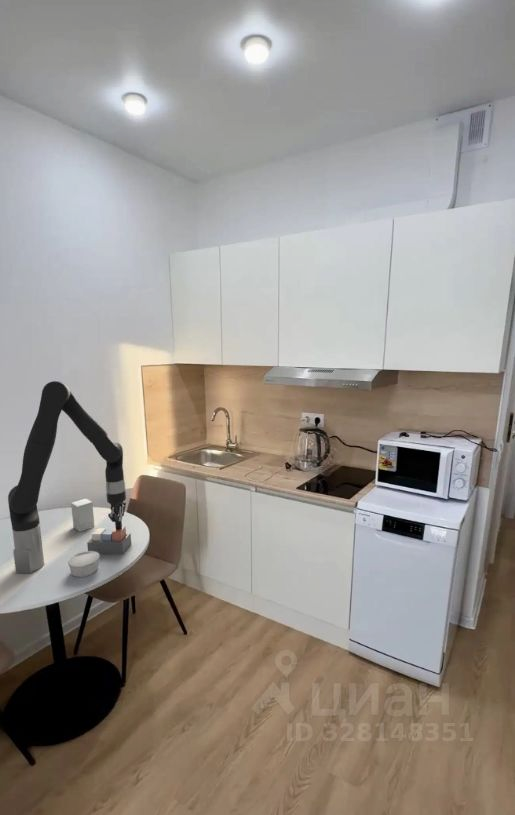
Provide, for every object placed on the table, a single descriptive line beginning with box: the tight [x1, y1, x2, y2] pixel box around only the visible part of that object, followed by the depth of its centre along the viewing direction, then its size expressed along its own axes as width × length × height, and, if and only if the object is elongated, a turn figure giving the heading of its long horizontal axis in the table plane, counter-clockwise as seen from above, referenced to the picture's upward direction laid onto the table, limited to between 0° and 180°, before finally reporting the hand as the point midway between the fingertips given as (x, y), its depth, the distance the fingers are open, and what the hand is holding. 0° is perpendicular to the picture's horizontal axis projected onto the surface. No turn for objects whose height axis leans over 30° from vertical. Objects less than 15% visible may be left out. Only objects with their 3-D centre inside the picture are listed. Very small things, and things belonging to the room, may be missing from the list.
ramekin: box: [67, 550, 101, 578], centre depth 151 cm, size 11×11×5 cm
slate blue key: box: [102, 528, 115, 541], centre depth 166 cm, size 5×4×5 cm
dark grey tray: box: [86, 532, 132, 555], centre depth 166 cm, size 9×15×5 cm, turn 86°
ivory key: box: [91, 527, 107, 541], centre depth 166 cm, size 5×4×5 cm
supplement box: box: [70, 498, 95, 532], centre depth 186 cm, size 7×7×13 cm
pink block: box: [112, 525, 127, 541], centre depth 166 cm, size 5×4×5 cm
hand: (118, 528), depth 165 cm, fingers closed
